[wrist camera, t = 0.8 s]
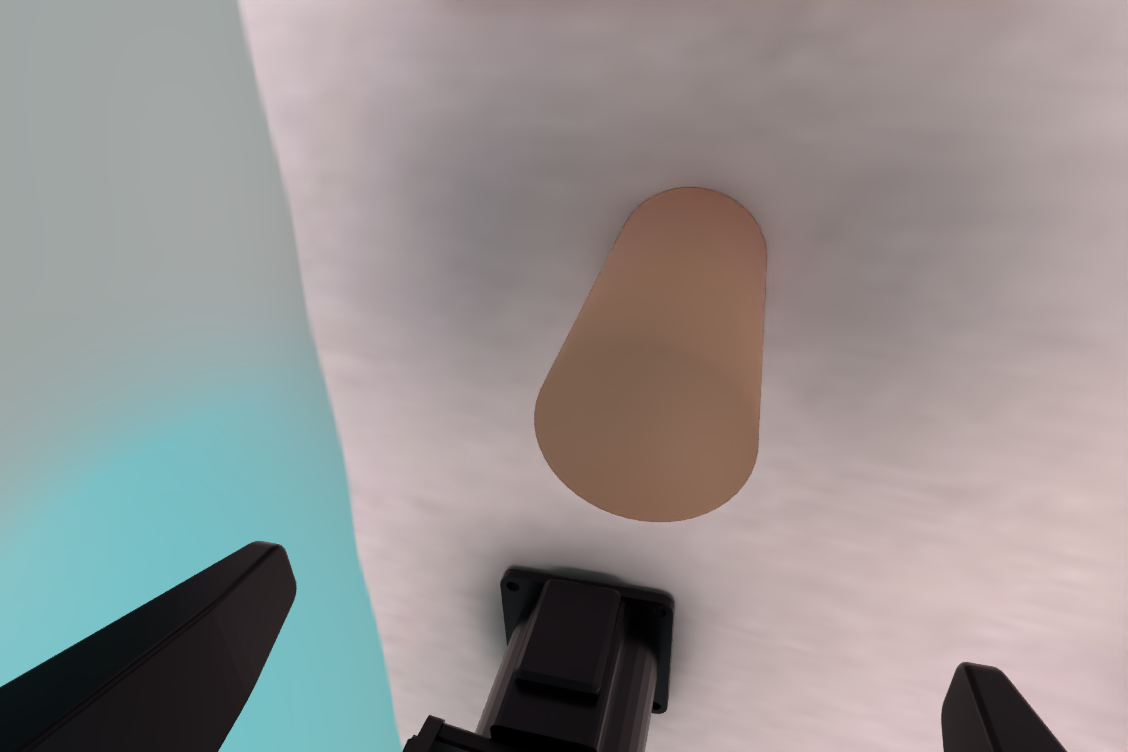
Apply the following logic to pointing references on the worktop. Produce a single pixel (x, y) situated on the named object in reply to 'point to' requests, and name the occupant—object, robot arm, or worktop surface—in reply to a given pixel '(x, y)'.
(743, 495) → the worktop surface
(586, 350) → the terracotta pin
